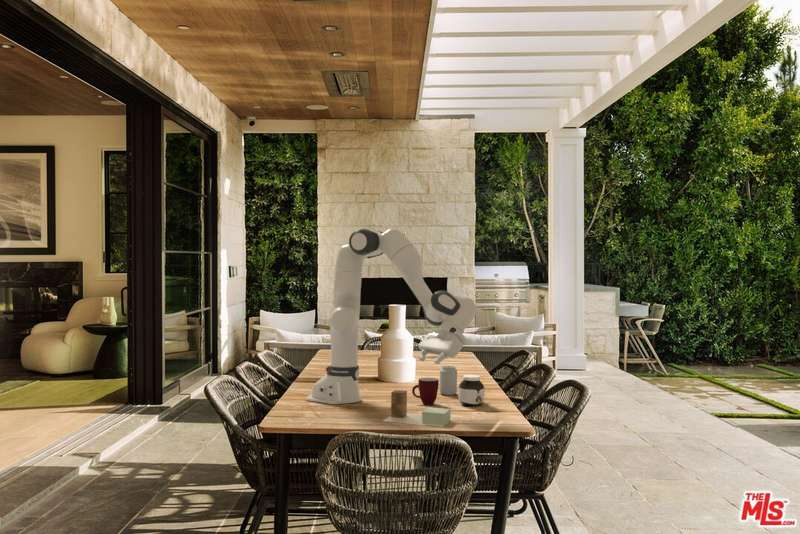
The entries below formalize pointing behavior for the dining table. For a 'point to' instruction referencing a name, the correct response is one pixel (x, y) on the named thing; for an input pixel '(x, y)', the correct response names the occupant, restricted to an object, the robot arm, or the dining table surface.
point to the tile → (411, 420)
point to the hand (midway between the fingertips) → (428, 361)
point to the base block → (436, 416)
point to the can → (448, 380)
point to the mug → (427, 390)
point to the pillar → (398, 404)
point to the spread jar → (471, 391)
